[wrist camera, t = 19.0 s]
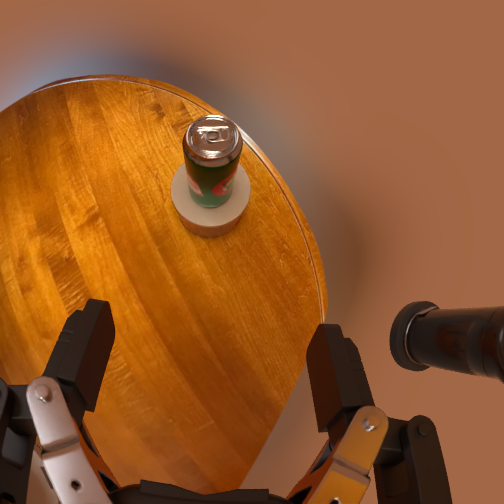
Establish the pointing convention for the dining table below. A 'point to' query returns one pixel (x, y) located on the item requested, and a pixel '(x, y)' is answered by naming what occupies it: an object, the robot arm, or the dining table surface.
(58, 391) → the robot arm
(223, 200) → the soda can
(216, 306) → the dining table surface
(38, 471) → the vase
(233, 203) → the canister
